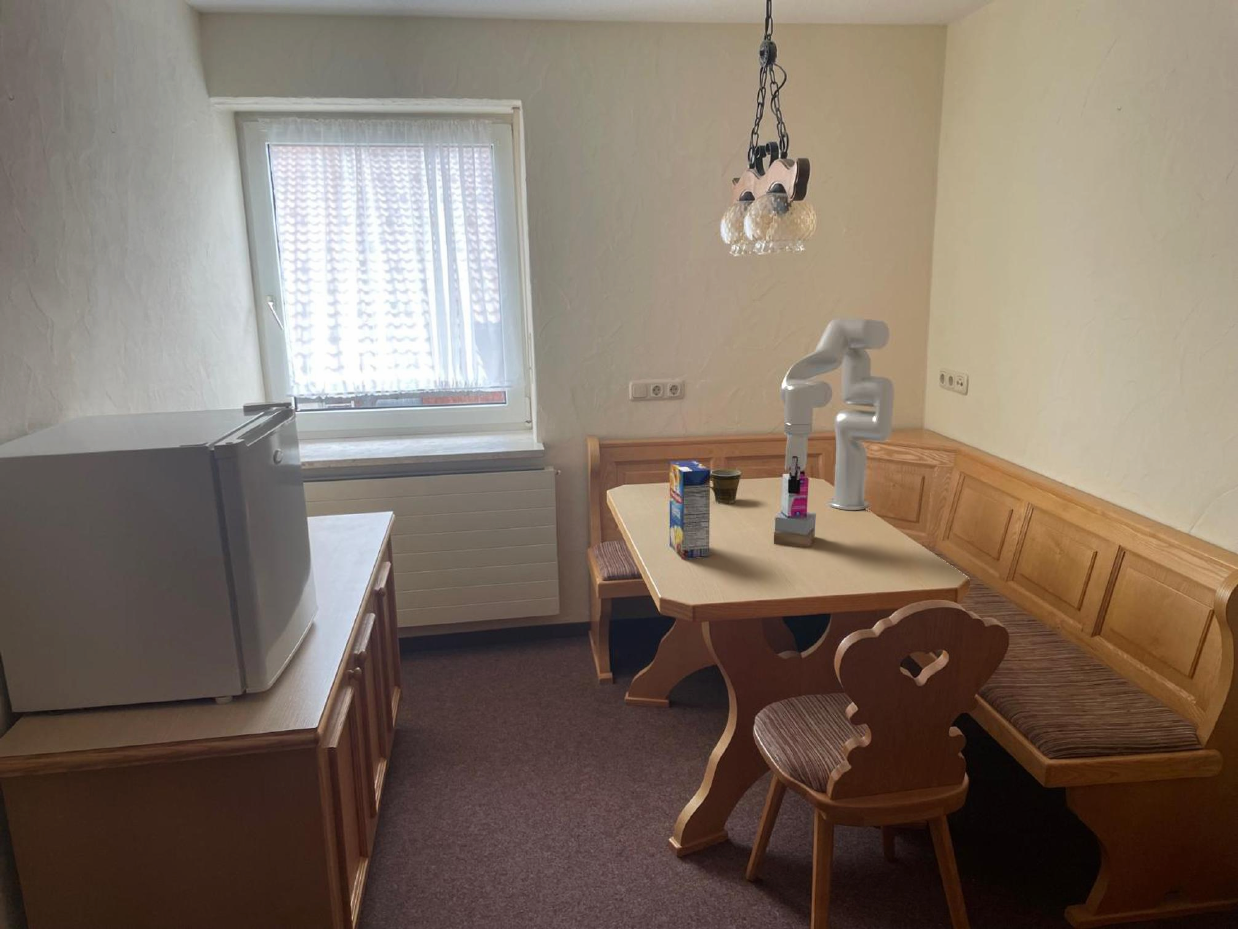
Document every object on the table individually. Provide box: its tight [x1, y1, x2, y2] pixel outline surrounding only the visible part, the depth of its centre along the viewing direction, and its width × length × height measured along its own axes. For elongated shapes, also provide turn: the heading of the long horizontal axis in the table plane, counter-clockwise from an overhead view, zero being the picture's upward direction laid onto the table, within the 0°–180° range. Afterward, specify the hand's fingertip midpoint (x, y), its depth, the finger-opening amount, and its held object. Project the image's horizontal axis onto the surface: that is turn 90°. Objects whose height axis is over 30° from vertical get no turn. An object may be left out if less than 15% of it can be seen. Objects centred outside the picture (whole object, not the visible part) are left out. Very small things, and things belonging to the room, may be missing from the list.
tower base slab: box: [773, 526, 816, 548], centre depth 226 cm, size 10×10×4 cm
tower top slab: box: [774, 511, 817, 535], centre depth 225 cm, size 9×9×4 cm
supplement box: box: [780, 473, 810, 518], centre depth 223 cm, size 6×6×12 cm
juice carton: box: [669, 460, 711, 560], centre depth 216 cm, size 12×8×24 cm, turn 13°
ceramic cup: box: [710, 468, 742, 504], centre depth 267 cm, size 13×10×10 cm
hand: (796, 488), depth 223 cm, fingers open, 9 cm apart
